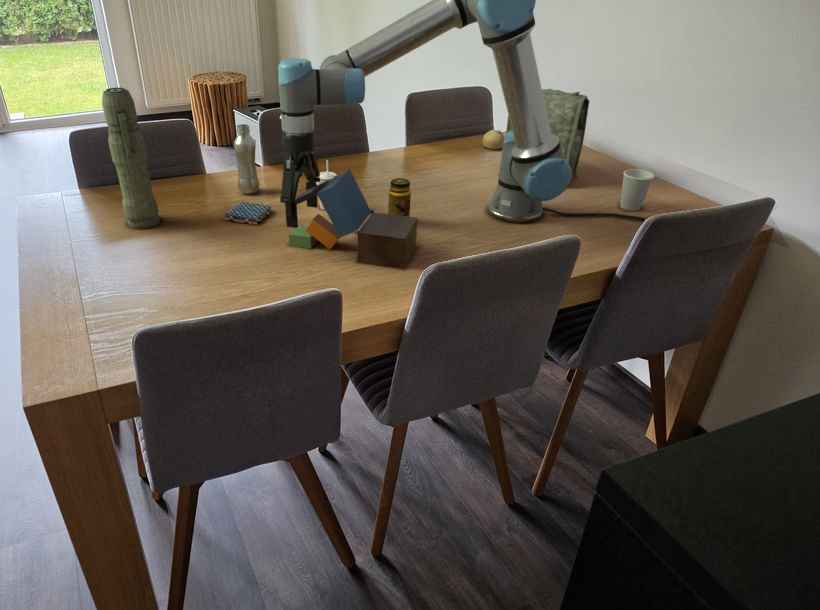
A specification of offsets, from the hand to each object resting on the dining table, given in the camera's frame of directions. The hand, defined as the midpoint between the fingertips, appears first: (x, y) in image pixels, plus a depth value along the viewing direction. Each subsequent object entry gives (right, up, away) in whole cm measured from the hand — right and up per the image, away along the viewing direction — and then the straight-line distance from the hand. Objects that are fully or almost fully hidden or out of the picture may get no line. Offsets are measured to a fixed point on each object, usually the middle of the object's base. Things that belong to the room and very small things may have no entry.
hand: (302, 216), depth 156 cm
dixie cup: (+95, +8, +24) cm, 98 cm away
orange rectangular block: (+2, -1, 0) cm, 3 cm away
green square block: (-3, -4, +4) cm, 6 cm away
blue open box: (+13, +3, -7) cm, 15 cm away
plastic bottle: (-19, +15, +33) cm, 41 cm away
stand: (+22, -10, -2) cm, 24 cm away
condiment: (+25, +1, +15) cm, 29 cm away
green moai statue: (-46, +1, +15) cm, 48 cm away
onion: (+64, +40, +70) cm, 103 cm away
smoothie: (+5, +8, +23) cm, 25 cm away
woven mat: (-17, +4, +18) cm, 25 cm away
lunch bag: (+74, +23, +46) cm, 90 cm away
